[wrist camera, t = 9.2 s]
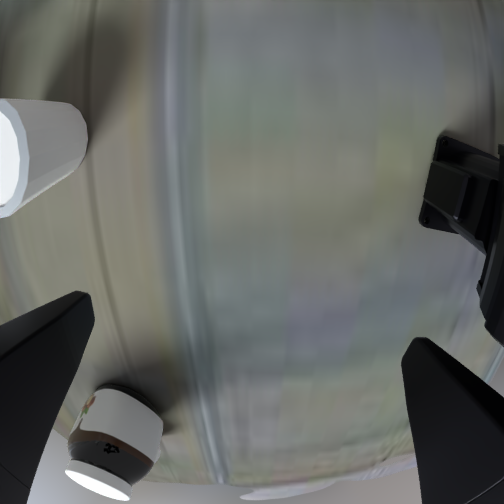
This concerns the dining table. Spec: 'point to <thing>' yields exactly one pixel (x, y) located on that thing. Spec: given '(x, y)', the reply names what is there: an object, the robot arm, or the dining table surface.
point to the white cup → (37, 148)
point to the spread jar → (114, 441)
